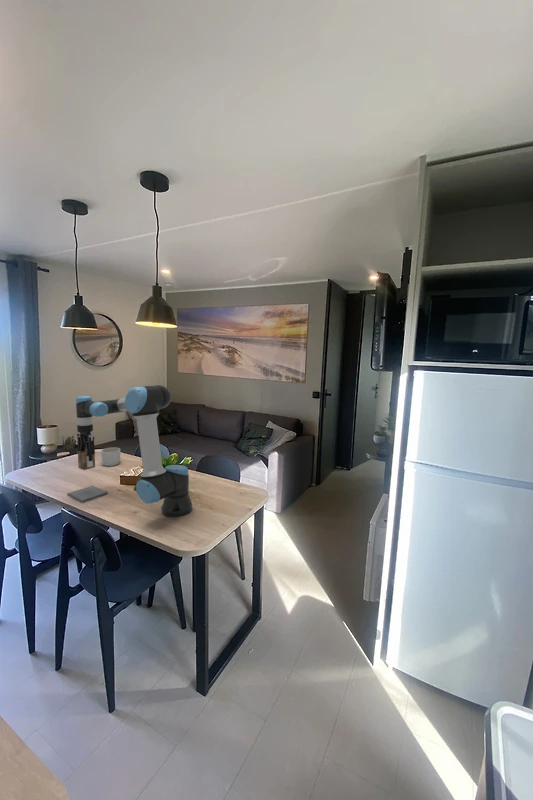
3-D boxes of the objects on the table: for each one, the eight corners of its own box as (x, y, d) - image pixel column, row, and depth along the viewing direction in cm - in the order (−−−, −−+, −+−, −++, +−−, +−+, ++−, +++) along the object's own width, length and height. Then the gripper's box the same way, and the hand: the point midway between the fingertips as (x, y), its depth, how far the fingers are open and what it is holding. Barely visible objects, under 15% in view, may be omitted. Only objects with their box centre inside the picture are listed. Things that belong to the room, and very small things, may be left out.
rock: (136, 489, 184) (153, 482, 190) (131, 475, 186) (147, 469, 192) (132, 494, 191) (148, 488, 198) (126, 481, 193) (142, 475, 200)
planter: (97, 466, 226) (97, 451, 225) (109, 461, 238) (108, 446, 237) (113, 467, 224) (113, 452, 223) (124, 462, 236) (123, 448, 235)
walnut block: (95, 467, 179) (94, 451, 178) (84, 470, 174) (83, 454, 173) (89, 465, 182) (88, 449, 181) (78, 467, 177) (77, 452, 176)
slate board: (107, 494, 181) (107, 491, 181) (82, 503, 170) (82, 500, 169) (92, 487, 190) (92, 485, 190) (67, 495, 178) (67, 493, 178)
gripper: (101, 425, 173) (102, 467, 176) (82, 421, 183) (84, 460, 186) (87, 427, 166) (89, 470, 169) (69, 423, 177) (71, 463, 180)
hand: (86, 465), depth 178 cm, fingers closed on walnut block, 6 cm apart
